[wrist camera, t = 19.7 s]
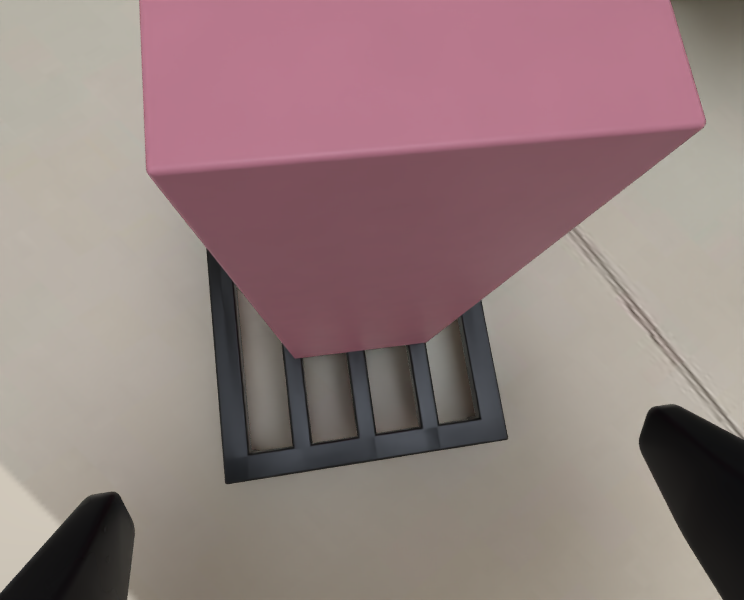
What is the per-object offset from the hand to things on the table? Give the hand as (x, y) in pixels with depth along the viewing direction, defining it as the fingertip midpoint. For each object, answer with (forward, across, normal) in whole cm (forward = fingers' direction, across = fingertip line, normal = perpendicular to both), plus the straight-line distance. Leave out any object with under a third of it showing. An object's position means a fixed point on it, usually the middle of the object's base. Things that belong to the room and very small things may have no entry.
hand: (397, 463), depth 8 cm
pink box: (+9, 0, +2) cm, 9 cm away
